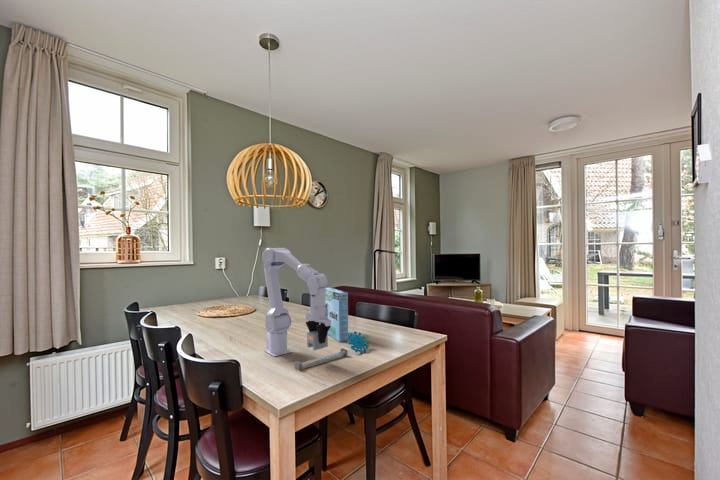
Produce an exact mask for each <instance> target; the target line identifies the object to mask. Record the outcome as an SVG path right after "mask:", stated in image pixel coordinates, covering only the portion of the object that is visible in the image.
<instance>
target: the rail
mask: <svg viewBox="0 0 720 480" xmlns="http://www.w3.org/2000/svg"><path fill="white" fill-rule="evenodd" d="M346 357H348V349H345V348H340V350H339V352H335V353H331V354H327V355H324V356H321V357H317V358H315V359H314V358H313V359H309V360H307V361H303V362H301V361H299V360H296V361H294V369H295V370H297V371H302V370H304V369H307V368H310V367H314V366H317V365H321V364H324V363H327V362H331V361H335V360H337V359H342V358H346Z"/></svg>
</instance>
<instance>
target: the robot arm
mask: <svg viewBox="0 0 720 480" xmlns="http://www.w3.org/2000/svg"><path fill="white" fill-rule="evenodd" d="M261 258H262V263H263V271H264V272H263V273H264V278H265V284H266V291H267V297H268V304H269V310H268V312H267V313H266V314H265V325H264V326H265V328H266V330H267V333H266V337H265V338H266V339H265V341H266V345H265V347H266V349H263V350H264V352H265V353H267V354H269V355H271V356H272V357H277V356H283V355H286V354H290V353H291V354H292V351H291V350H290V349H288V330H289V329H290V327H291V326H292V318H291V315H290V313H289V310H288V309H287V308H286V307H284V304H283V297H282V291H281V284H280V280H279V272H278V271H279V269H280V268H281V267H282V266H284V264H286V265H288V266H289V267H290V268H291V269H294V271H296V276H298V277H299V278H300V279H302V280H303V282H305V283H306V284H307V285H306V286H307V287H308V290H309V291H308V292H309V295H310V313H307V314H305V320H307V321H306V322H305V325H306V327H307V329H308V331H309V332H312V331H316V330H317V331H318V337H319V343H320V344H322V343H325V340H326V336H327V333H328V330H329V328H330V327H331V320H329V319H328V318H327V317H325V295H326V288H328V286H329V284H330V283H329V277H328V276H327V275H326V274H325V273H320V272H319V271H318V270H315V268H313V267H311V264H310V263H302V262H300V261H299V260H298V259H297V257H295V256H294V255H293V254H292V253H291V250H289V249H288V248H287V247H273V248H272V247H267V248H265V250H264V251H263V252H262V255H261Z"/></svg>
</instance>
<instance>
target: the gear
mask: <svg viewBox="0 0 720 480" xmlns="http://www.w3.org/2000/svg"><path fill="white" fill-rule="evenodd" d="M356 334H357V335H356ZM361 335H362V333H361V332H358V333H357V331H353V332H350V333H348V338H347V339H348V341H347V344H348V345H350V349H351V350H354V352H355V353H358V352H359V353H360V354H363V353H365V352H367V351H368V348H369V344H368V343H369V342H370V341H371V340H370V339H369V338H368V339H366V336H365V335H363V336H361Z"/></svg>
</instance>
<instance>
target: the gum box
mask: <svg viewBox="0 0 720 480" xmlns="http://www.w3.org/2000/svg"><path fill="white" fill-rule="evenodd" d="M348 294H349V293H348V292H347V291H343V290H340V289H337V288H334V287H326V295H325V317H327V318H328V319H329V320H331V327H330V328H329V330H328V333H327V334H328V336H330V337H331V338H332V339H334V340H336V341H338V342H339V343H342V342H348V341H349V340H348V339H347V338H348V337H349V295H348Z"/></svg>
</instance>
